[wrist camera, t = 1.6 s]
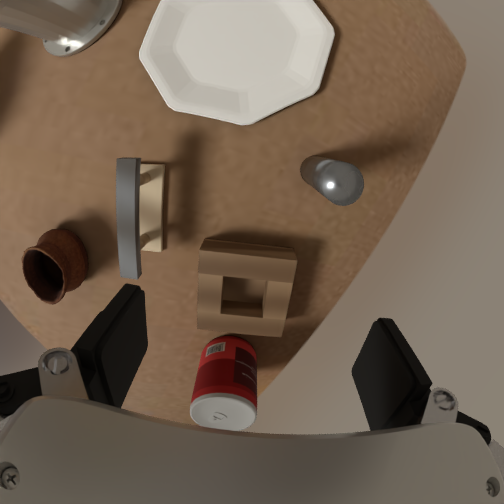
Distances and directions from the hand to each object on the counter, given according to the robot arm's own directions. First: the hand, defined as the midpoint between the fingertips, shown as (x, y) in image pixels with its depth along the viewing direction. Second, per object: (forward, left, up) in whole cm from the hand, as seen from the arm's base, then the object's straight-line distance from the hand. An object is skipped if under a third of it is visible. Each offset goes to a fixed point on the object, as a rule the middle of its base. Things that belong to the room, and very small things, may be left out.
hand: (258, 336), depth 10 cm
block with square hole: (+9, 0, -21) cm, 23 cm away
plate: (-19, -4, -22) cm, 29 cm away
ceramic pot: (+8, -25, -22) cm, 34 cm away
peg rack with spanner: (+1, -12, -21) cm, 24 cm away
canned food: (+21, -1, -21) cm, 30 cm away
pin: (-5, +6, -21) cm, 22 cm away
